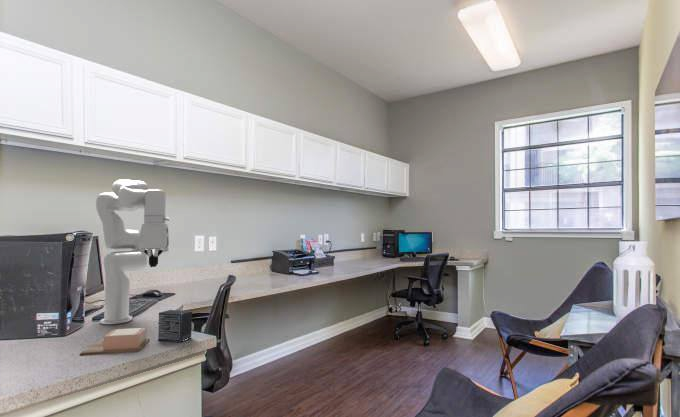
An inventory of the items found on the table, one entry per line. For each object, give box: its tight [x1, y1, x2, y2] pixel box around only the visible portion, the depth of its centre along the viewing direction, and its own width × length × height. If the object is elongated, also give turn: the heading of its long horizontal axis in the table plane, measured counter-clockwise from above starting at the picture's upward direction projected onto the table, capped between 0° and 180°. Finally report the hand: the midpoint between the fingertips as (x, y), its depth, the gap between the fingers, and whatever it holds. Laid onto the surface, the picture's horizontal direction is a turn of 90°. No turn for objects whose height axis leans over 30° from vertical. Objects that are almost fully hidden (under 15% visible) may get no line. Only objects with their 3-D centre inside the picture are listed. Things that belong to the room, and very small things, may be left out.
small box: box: [157, 309, 193, 343], centre depth 139 cm, size 11×6×10 cm, turn 74°
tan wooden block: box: [102, 327, 148, 350], centre depth 130 cm, size 9×4×11 cm
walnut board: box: [79, 338, 150, 356], centre depth 129 cm, size 12×18×1 cm, turn 103°
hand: (153, 266), depth 145 cm, fingers closed
